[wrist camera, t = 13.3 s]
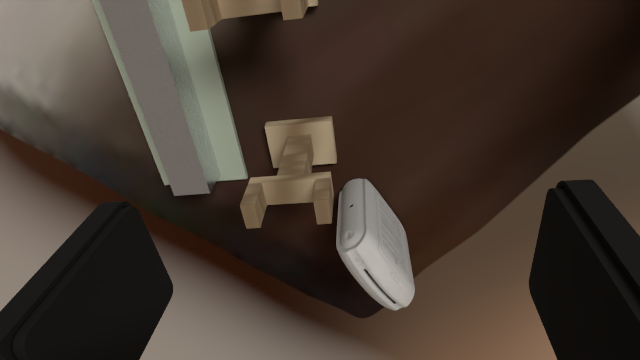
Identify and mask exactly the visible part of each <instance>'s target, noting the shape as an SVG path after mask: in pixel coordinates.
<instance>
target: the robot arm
mask: <svg viewBox="0 0 640 360" xmlns="http://www.w3.org/2000/svg"><path fill="white" fill-rule="evenodd" d="M529 289H530V293H531V296H532V299H533V301H534V304H535V306H536V309H537V311H538V313H539V316H540V318H541V321H542V323H543V326H544V328H545V330H546V333H547V335H548V338H549V340H550V343H551V345H552V347H553V350H554V352H555V355H556V357H557V360H640V236H639V235H638V234H637V233H636V231H635V230H634V229H633V228H632V227H631V225H630V224H629V223H628V222H627V220H626V219H625V218H624V217H623V215H622V214H621V213H620V212H619V211H618V209H617V208H616V207H615V206H614V204H613V203H612V202H611V201H610V200H609V198H608V197H607V196H606V195H605V193H604V192H603V191H602V190H601V189H600V188H599V186H598V185H597V184H596V183H595V182H594V181H593V180H572V181H560V182H559V183H558V184H557V186H556V188H551V189H549V190H548V192H547V196H546V200H545V205H544V210H543V214H542V220H541V225H540V229H539V234H538V239H537V244H536V248H535V253H534V258H533V263H532V268H531V273H530V278H529ZM172 293H173V284H172V281H171V279H170V277H169V275H168V273H167V271H166V268H165V266H164V264H163V262H162V260H161V258H160V256H159V253H158V251H157V249H156V247H155V245H154V243H153V241H152V238H151V236H150V234H149V232H148V230H147V227H146V225H145V223H144V221H143V219H142V217H141V215H140V212H139V211H138V209H136V208H135V207H133V206H132V205H131V204H130V203H129V202H126V201H120V202H104V203H101V204H100V205H99V206H98V207H97V208H96V209H95V210H94V211H93V212H92V213H91V214H90V215H89V216H88V217H87V219H86V220H85V221H84V222H83V223H82V224H81V225H80V226H79V227H78V228H77V229H76V230H75V231H74V233H73V234H72V235H71V236H70V237H69V238H68V239H67V240H66V241H65V242H64V243H63V245H62V246H61V247H60V248H59V249H58V250H57V251H56V252H55V253H54V254H53V255H52V256H51V257H50V258H49V260H48V261H47V262H46V263H45V264H44V265H43V266H42V267H41V268H40V269H39V270H38V271H37V273H36V274H35V275H34V276H33V277H32V278H31V279H30V280H29V281H28V282H27V283H26V284H25V285H24V287H23V288H22V289H21V290H20V291H19V292H18V293H17V294H16V295H15V296H14V297H13V298H12V300H11V301H10V302H9V303H8V304H7V305H6V306H5V307H4V308H3V309H2V310H1V311H0V360H139V359H140V357H141V355H142V353H143V351H144V350H145V348H146V346H147V344H148V342H149V340H150V338H151V336H152V334H153V332H154V330H155V328H156V326H157V324H158V322H159V321H160V318H161V317H162V315H163V313H164V311H165V309H166V307H167V305H168V303H169V301H170V299H171V297H172Z"/></svg>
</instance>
